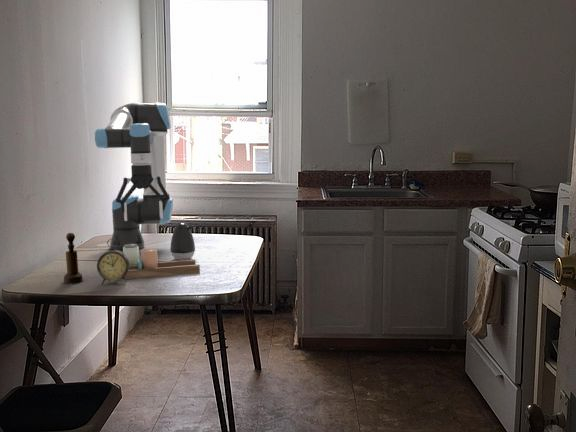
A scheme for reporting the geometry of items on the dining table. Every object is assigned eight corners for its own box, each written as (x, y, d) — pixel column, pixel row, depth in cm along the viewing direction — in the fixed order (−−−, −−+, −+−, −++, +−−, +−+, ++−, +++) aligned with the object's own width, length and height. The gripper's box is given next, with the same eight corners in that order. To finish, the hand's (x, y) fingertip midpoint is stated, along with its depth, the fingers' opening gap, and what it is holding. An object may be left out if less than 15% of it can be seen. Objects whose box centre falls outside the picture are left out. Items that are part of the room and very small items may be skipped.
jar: (123, 268, 270) (122, 243, 269) (138, 267, 272) (137, 242, 271) (124, 271, 265) (123, 246, 263) (140, 270, 267) (139, 245, 265)
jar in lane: (141, 272, 263) (140, 249, 261) (157, 271, 265) (156, 248, 263) (142, 276, 257) (141, 252, 256) (159, 274, 259) (158, 251, 258)
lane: (119, 273, 262) (119, 265, 262) (194, 266, 271) (194, 259, 271) (121, 279, 253) (121, 271, 252) (199, 272, 261) (199, 265, 261)
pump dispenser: (191, 262, 279) (189, 225, 277) (167, 261, 282) (165, 224, 279) (199, 256, 289) (198, 221, 287) (176, 256, 291) (174, 220, 289)
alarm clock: (97, 285, 245) (95, 240, 242) (100, 281, 250) (97, 237, 248) (128, 284, 246) (126, 239, 243) (130, 280, 251) (128, 236, 249)
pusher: (121, 272, 261) (120, 259, 260) (140, 271, 263) (139, 258, 262) (122, 277, 254) (121, 263, 253) (142, 275, 256) (141, 262, 256)
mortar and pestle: (63, 280, 252) (60, 232, 250) (81, 278, 255) (78, 230, 252) (65, 284, 246) (61, 235, 244) (83, 282, 249) (80, 233, 246)
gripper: (108, 166, 254) (111, 222, 258) (175, 163, 263) (177, 218, 266) (106, 164, 261) (109, 219, 265) (172, 162, 270) (174, 215, 273)
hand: (143, 219), depth 265 cm, fingers open, 13 cm apart
